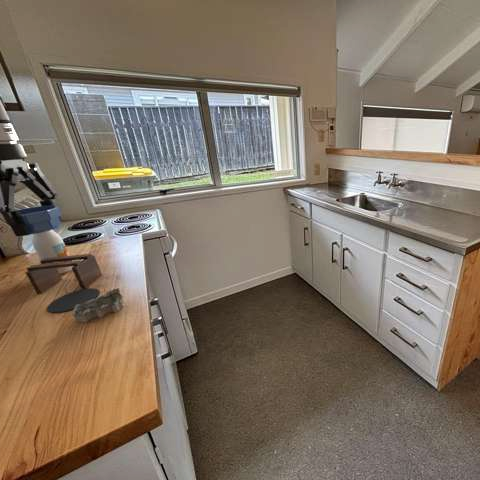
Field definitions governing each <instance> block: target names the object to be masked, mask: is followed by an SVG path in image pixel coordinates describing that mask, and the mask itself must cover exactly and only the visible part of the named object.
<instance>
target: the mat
mask: <svg viewBox="0 0 480 480" xmlns="http://www.w3.org/2000/svg"><path fill="white" fill-rule="evenodd" d="M99 295H100V289H98V288H95V287H94V288H93V287H92V288H91V287H87V288H86V289H77V290H75V291H71V292H68V293H66V294H64V295H61V296H60V297H57V298H56V299H55V300H53V301H51V302H50V303H49V304H48V306H47V308H46V309H47V312H49V313H51V314H52V313H53V314H58V313H67V312H70V311H73V309H74V307H75V305H78V304H81V305H82V304H83V303H86V302H87V301H90V300H92V299H96V298H98V297H99Z"/></svg>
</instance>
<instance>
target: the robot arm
mask: <svg viewBox="0 0 480 480" xmlns="http://www.w3.org/2000/svg"><path fill="white" fill-rule="evenodd" d="M18 141H20V139H19V137H18V135H17V132H16V131H15V129H14V127H13V124H12V122H11V119H10V118H9V115H8V113H7V111H6V109H5V106H4V104H3V101H2V100H1V99H0V215H2V217H3V219H4V221H5V223H6V224H7V226H10V228H11V230H12V231H13V234H14V235H15V237H25V236H30V235H31V234H30V232H29V230H28V229H27V227H26V225H25V223H24V221H23V219H22V217H21V215H20V213H19V211H18V210H19V209H15V187H16V186H17V185H18V183H21V184H23V185H24V186H25V187H26V188H28V189H29V190H30V191H31V192H32V193H34V195H36V196H37V197H38V198H39V199H40V200H39V204H40V206H47V205H56V203H55V202H54V200H57V196H58V193H57V191H56V190H55V188H54V187H53V185H52V184H51V183H50V181H49V180H48V179H47V177H46V176H45V174H44V172H42V171H41V168H40V165H39V164H38V163H37V162H30V163H29V162H28V163H27V162H26V161H25V160H26V159H27V157H28V155H27V154H26V152H25V149H24V146H23V145H22V144H21V143H18ZM15 210H16V211H15ZM59 219H60V221H61V222H62V218H61V216H59Z"/></svg>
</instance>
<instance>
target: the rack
mask: <svg viewBox="0 0 480 480" xmlns="http://www.w3.org/2000/svg"><path fill="white" fill-rule="evenodd" d="M71 260H73V261H71ZM61 261H69V262H61ZM39 262H40V264H32V265H30V266H28V267H26V270H27V271H25V275H26V277H27V278H28V280H29V282H30V284H31V286H32V287H33V289H34V291H35V292H36V294H37V295H41V294H43V293H45V292H46V291H48V290H49V289H50V288H52V287H54V286H55V285H56V284H58V283H60V281H62V280H63V277H62V276H61V275H62V274H60V273H59V271H58V269H57V268H61V267H71V266H73V267H72V270H71V271H72V273H73V274H74V277H75V278H76V281H77V283H78V285H79V287H80V290H82V289H88V288H89V286H91V285H92V284H93V283H94V282H95V281H97V280H98V279H99V278H101V277H102V276H103V273H102V271H101V269H100V266H99V264H98V262H97V259H96V256H95V255H94V254H91V253H84V254H73V255H70V256H63V257H52V258H44V259H42V260H39ZM54 262H59V263H54Z"/></svg>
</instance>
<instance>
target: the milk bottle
mask: <svg viewBox="0 0 480 480" xmlns="http://www.w3.org/2000/svg"><path fill="white" fill-rule="evenodd" d="M32 246H33V248H34V251H35V252H36V255H37V257H38V258H39V261H41V260H42V259H44V258H52V257H63V256H71V254H70V251H69V250H68V248H67V246H66V244H65V241H64V240H63V238H62V237H61V236H60V235H59V234H58V233H57V232H55V231H54V229H53V230H50V231H46V232H42V233H37V234H32ZM71 261H74V260H71ZM61 262H69V261H61ZM54 263H59V262H54ZM72 267H73V266H71V267H61V268H57V269H58V271H59V273H60V275H62V274H65V273H68V272H70V271H73V270H72Z"/></svg>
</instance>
